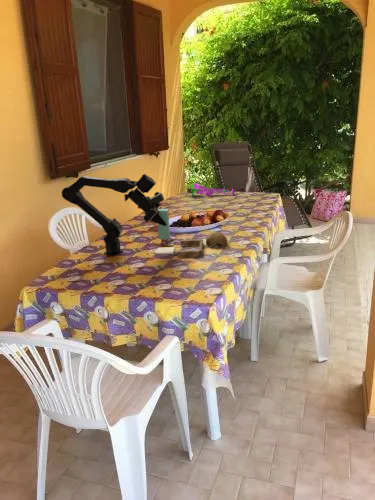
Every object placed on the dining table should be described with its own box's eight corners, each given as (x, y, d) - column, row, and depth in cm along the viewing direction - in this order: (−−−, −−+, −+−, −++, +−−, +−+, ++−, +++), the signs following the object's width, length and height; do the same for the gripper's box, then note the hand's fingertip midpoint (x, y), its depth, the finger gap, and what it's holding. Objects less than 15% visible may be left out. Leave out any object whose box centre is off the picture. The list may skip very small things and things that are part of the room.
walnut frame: (177, 257, 191) (177, 251, 190) (180, 245, 207) (180, 240, 207) (201, 256, 190) (201, 251, 189) (203, 244, 206) (202, 239, 206)
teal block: (158, 239, 196) (157, 211, 191) (160, 236, 200) (158, 208, 196) (168, 239, 195) (167, 211, 191) (169, 236, 199) (168, 208, 195)
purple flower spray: (186, 201, 324) (233, 202, 323) (186, 194, 308) (235, 195, 307) (187, 185, 326) (233, 187, 326) (187, 177, 310) (235, 179, 309)
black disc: (179, 256, 192) (179, 255, 191) (170, 255, 194) (170, 254, 194) (186, 253, 195) (186, 252, 195) (177, 251, 198) (177, 251, 198)
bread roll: (208, 255, 203) (210, 242, 197) (202, 241, 210) (204, 228, 204) (228, 252, 205) (230, 239, 200) (221, 238, 212) (223, 225, 207)
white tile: (155, 254, 196) (155, 253, 196) (157, 248, 204) (157, 247, 204) (173, 253, 195) (173, 252, 195) (174, 248, 203) (174, 247, 203)
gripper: (149, 191, 182) (176, 216, 184) (155, 183, 199) (180, 206, 202) (132, 209, 185) (159, 234, 187) (139, 200, 202) (164, 223, 205)
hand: (166, 223), depth 195 cm, fingers closed on teal block, 4 cm apart
